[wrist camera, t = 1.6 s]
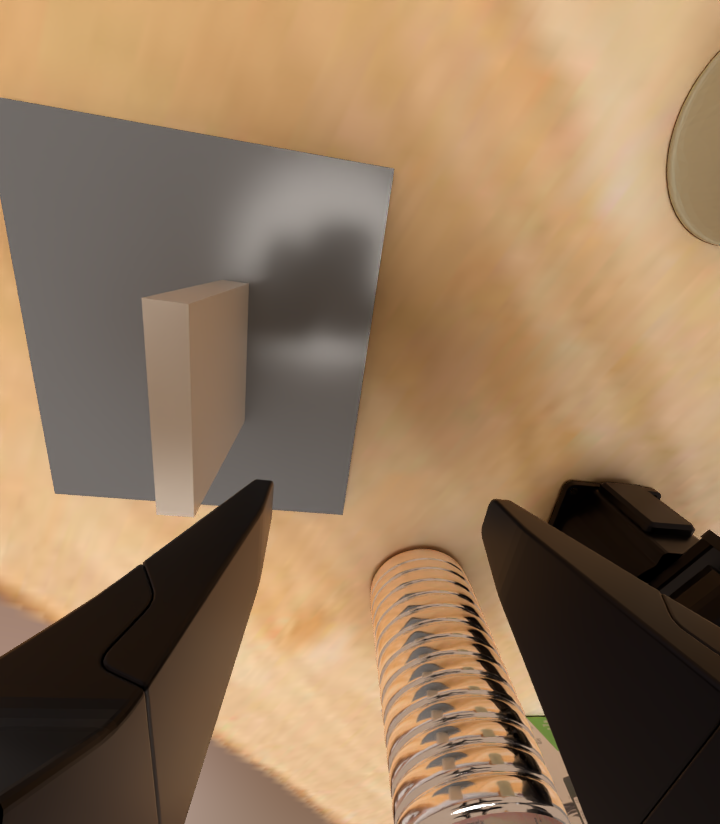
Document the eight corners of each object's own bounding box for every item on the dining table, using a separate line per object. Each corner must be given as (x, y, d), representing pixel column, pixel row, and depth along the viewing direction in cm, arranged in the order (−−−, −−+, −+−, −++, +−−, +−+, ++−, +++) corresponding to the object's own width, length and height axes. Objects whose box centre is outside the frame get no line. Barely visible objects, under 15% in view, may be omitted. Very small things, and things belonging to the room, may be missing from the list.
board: (342, 504, 24) (342, 514, 23) (66, 483, 22) (55, 493, 21) (391, 173, 17) (394, 168, 16) (2, 103, 15) (-19, 94, 14)
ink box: (572, 713, 34) (685, 929, 23) (556, 746, 36) (654, 961, 25) (480, 714, 33) (552, 939, 22) (468, 748, 35) (529, 971, 24)
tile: (244, 421, 20) (193, 517, 13) (217, 418, 20) (150, 514, 13) (248, 283, 18) (188, 303, 10) (217, 279, 17) (133, 296, 10)
